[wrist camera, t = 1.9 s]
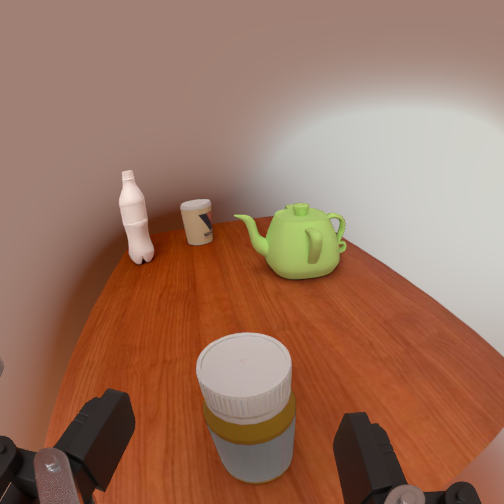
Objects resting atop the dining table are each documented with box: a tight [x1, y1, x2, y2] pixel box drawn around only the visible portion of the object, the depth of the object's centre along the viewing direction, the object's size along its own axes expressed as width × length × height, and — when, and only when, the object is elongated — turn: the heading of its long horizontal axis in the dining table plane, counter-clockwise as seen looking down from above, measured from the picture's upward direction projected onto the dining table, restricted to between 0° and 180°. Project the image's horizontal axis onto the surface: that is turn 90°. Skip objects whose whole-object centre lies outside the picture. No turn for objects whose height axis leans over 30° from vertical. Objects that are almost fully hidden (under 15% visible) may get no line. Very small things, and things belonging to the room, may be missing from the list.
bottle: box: [196, 333, 296, 484], centre depth 20 cm, size 7×7×15 cm
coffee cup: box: [180, 199, 213, 245], centre depth 83 cm, size 9×9×12 cm
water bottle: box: [119, 170, 154, 264], centre depth 69 cm, size 7×7×25 cm
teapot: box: [234, 203, 346, 279], centre depth 61 cm, size 19×20×14 cm
